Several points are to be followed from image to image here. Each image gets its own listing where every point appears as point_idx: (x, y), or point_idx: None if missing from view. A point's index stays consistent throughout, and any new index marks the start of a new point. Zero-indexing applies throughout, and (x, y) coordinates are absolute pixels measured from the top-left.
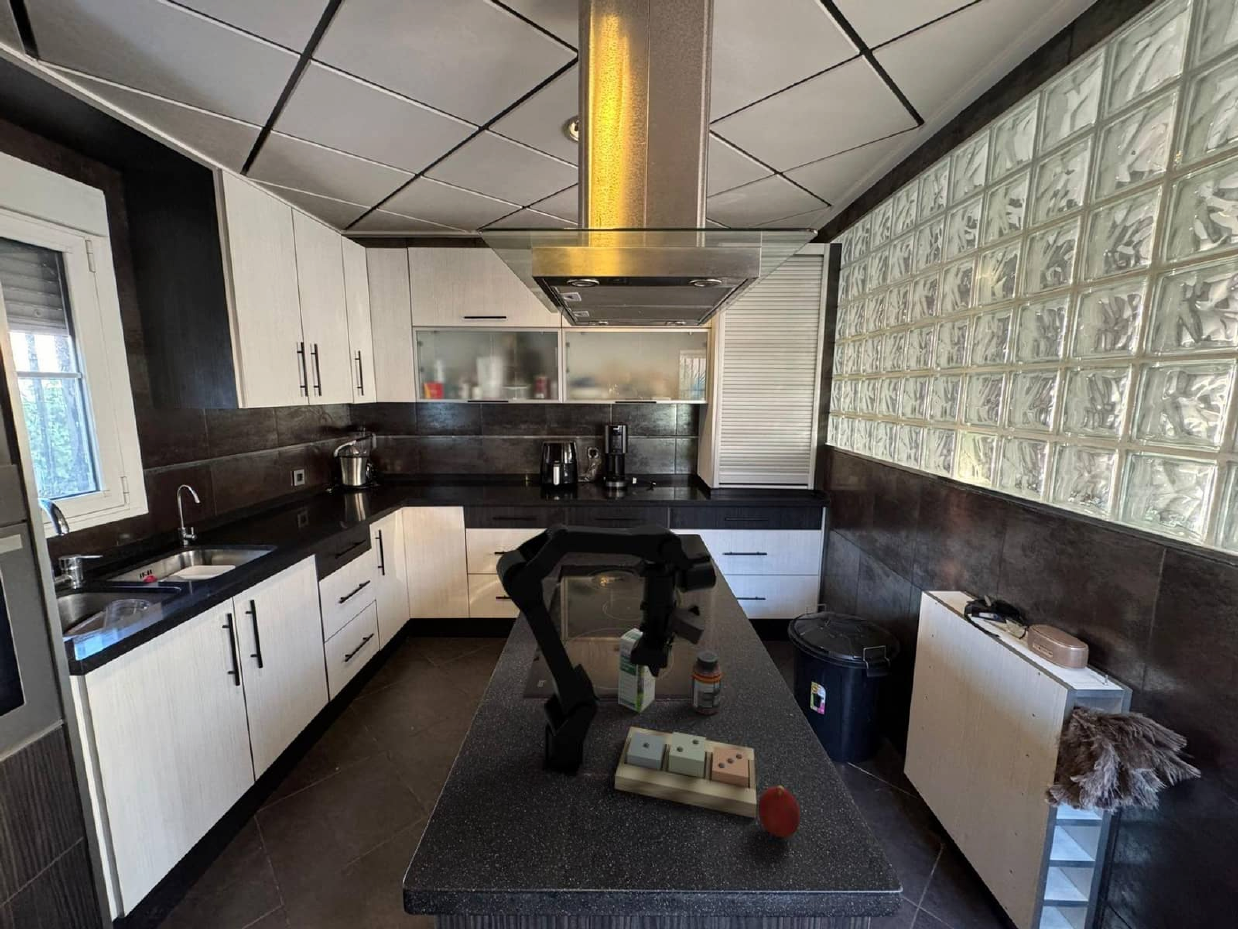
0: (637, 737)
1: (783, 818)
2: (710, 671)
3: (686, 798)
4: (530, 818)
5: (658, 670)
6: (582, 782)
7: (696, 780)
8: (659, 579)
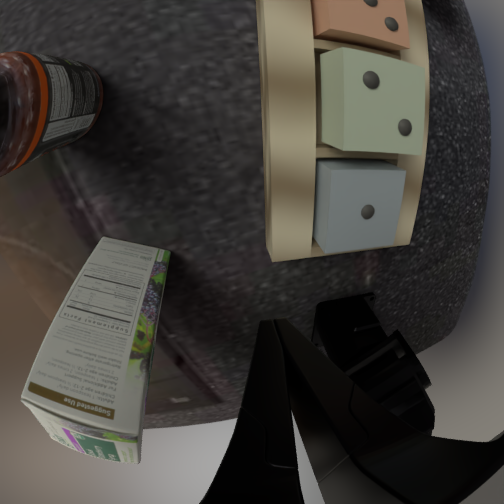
0: (343, 239)
1: None
2: (9, 82)
3: None
4: (424, 303)
5: (315, 351)
6: (383, 279)
7: None
8: None
